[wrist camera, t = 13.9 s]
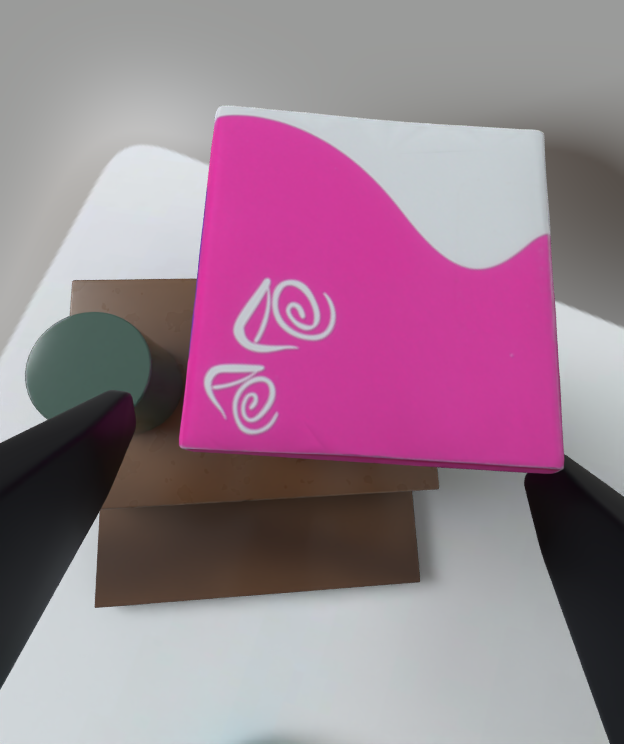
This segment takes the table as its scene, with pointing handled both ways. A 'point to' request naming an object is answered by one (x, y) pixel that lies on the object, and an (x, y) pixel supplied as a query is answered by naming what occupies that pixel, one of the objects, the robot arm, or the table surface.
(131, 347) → the canister
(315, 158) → the supplement box
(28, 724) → the table surface
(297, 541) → the display stand
